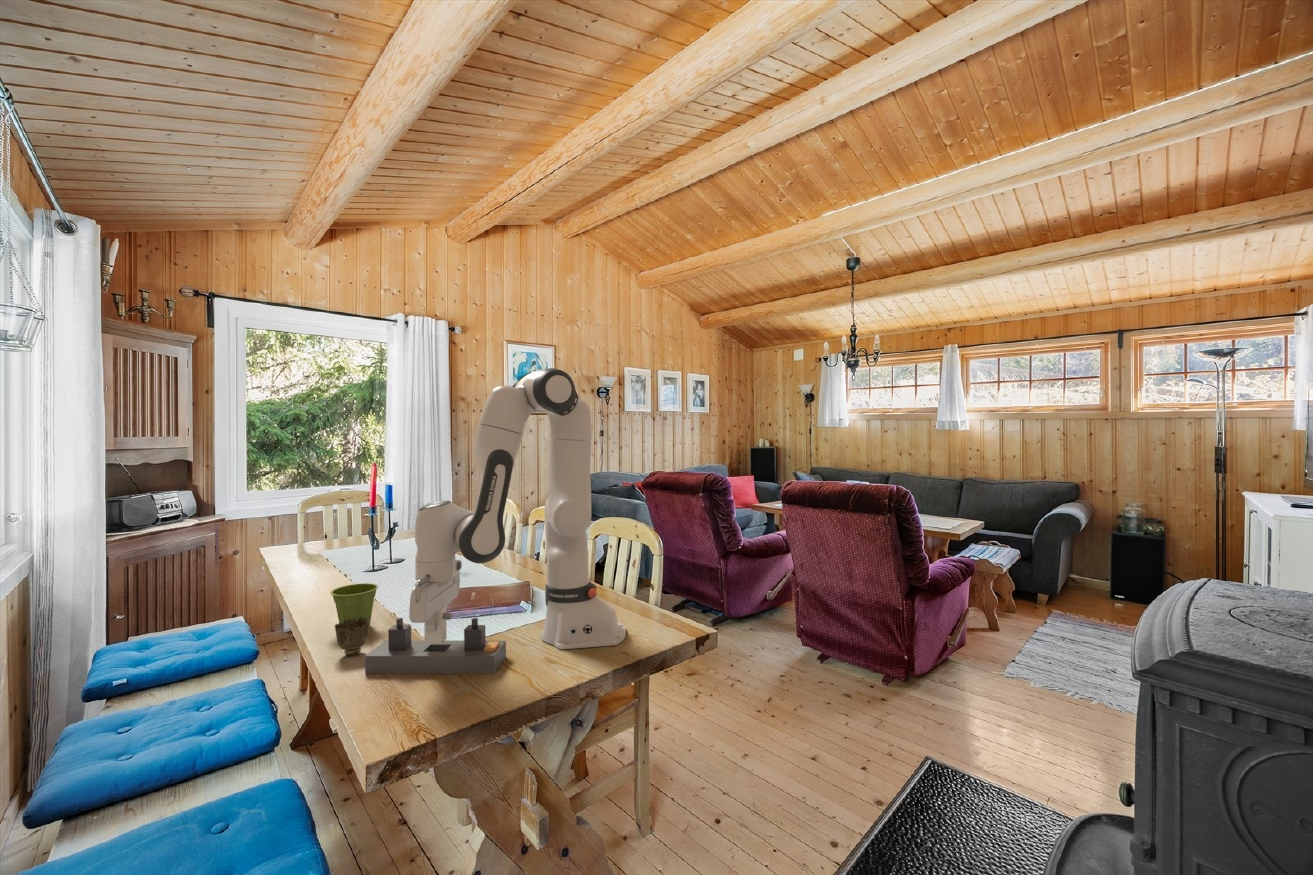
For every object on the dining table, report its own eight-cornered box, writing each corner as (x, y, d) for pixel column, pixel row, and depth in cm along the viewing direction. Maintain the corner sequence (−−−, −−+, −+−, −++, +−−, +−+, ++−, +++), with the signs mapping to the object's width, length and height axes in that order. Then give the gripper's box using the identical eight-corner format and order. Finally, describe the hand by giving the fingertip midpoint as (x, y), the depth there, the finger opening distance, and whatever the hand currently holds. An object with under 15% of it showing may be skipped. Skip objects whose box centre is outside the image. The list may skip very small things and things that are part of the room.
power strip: (506, 656, 136) (505, 612, 135) (494, 673, 127) (493, 625, 126) (385, 656, 136) (384, 612, 136) (365, 673, 127) (364, 625, 127)
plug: (453, 638, 133) (453, 605, 132) (448, 643, 130) (448, 609, 129) (430, 638, 133) (429, 605, 132) (424, 643, 130) (424, 609, 130)
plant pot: (388, 624, 158) (387, 585, 158) (350, 639, 147) (349, 597, 147) (360, 618, 163) (359, 580, 163) (321, 632, 152) (320, 592, 152)
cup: (331, 654, 138) (331, 622, 138) (363, 645, 143) (363, 614, 143) (340, 663, 133) (339, 630, 133) (373, 653, 138) (372, 622, 138)
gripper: (429, 582, 120) (430, 645, 121) (464, 559, 141) (464, 613, 141) (401, 582, 120) (401, 645, 121) (439, 559, 141) (440, 613, 141)
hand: (435, 628), depth 131 cm, fingers closed on plug, 3 cm apart
